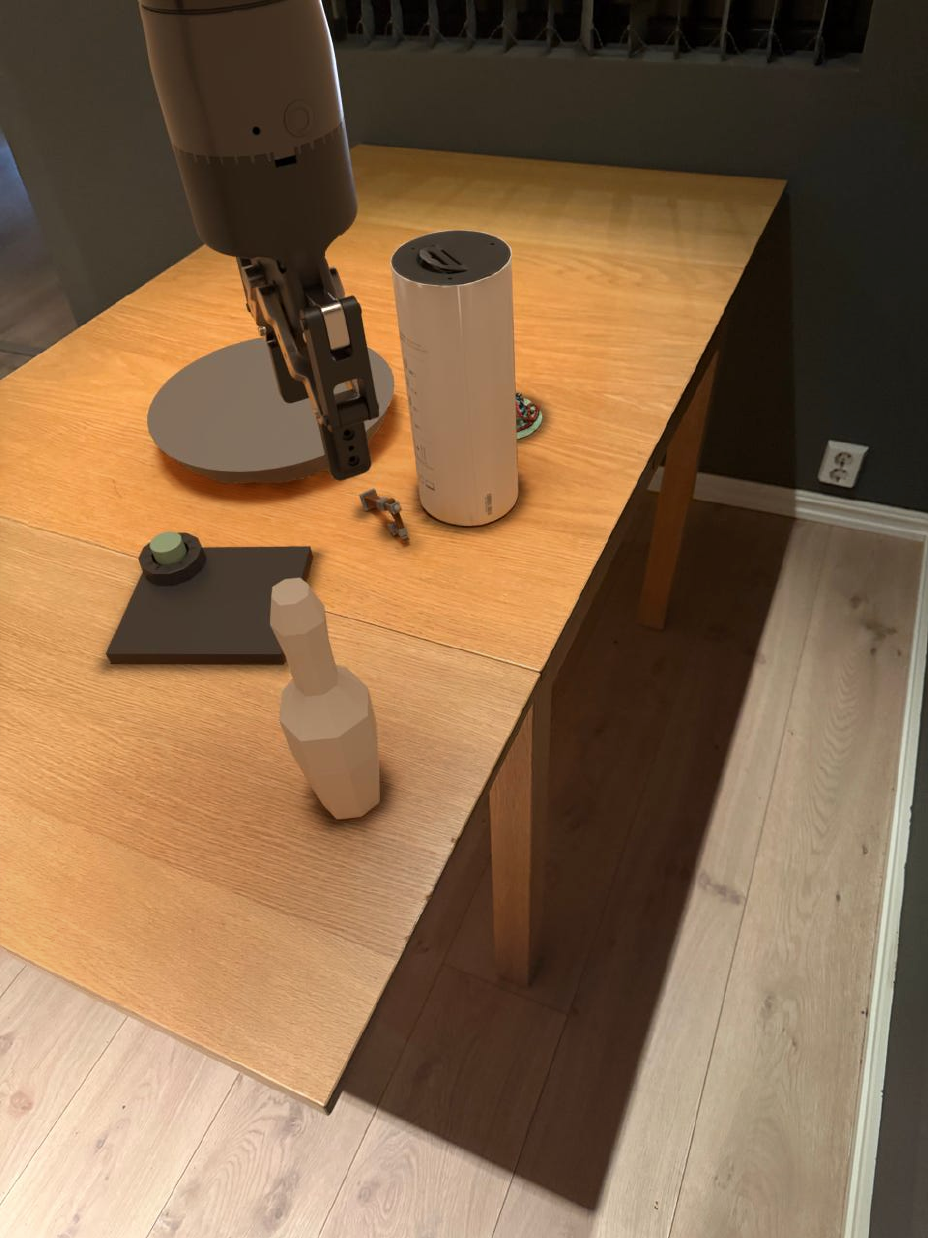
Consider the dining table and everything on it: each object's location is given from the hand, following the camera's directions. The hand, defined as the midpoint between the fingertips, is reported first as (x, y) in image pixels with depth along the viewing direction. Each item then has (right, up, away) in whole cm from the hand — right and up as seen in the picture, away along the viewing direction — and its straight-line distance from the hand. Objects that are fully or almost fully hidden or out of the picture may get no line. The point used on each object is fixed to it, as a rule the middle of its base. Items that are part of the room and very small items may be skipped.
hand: (324, 433), depth 50 cm
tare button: (-20, -4, +35) cm, 41 cm away
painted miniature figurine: (+12, +12, +52) cm, 55 cm away
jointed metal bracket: (0, -1, +41) cm, 41 cm away
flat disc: (-14, +12, +54) cm, 56 cm away
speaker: (+8, +2, +43) cm, 43 cm away
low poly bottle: (-1, -24, +19) cm, 30 cm away
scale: (-16, -9, +34) cm, 38 cm away
